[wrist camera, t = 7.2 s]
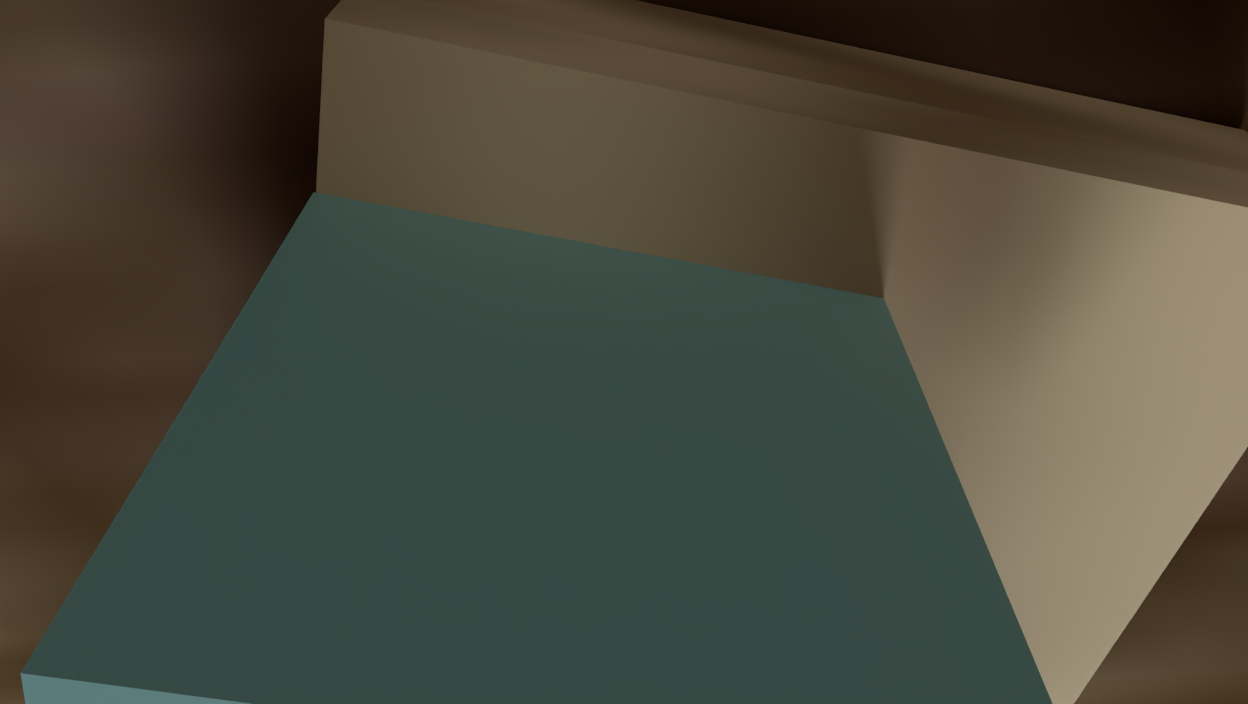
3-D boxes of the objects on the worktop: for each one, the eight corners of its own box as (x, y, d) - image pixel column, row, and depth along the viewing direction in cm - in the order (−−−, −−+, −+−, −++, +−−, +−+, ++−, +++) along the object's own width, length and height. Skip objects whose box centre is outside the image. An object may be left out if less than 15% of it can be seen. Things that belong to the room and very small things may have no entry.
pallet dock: (313, 872, 19) (273, 1024, 16) (387, -53, 10) (325, 18, 8) (799, 928, 20) (820, 1079, 17) (1243, 129, 11) (1389, 236, 9)
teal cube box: (292, 607, 11) (97, 1150, 7) (313, 192, 9) (20, 674, 4) (736, 669, 12) (797, 1211, 8) (883, 297, 9) (1099, 815, 5)
